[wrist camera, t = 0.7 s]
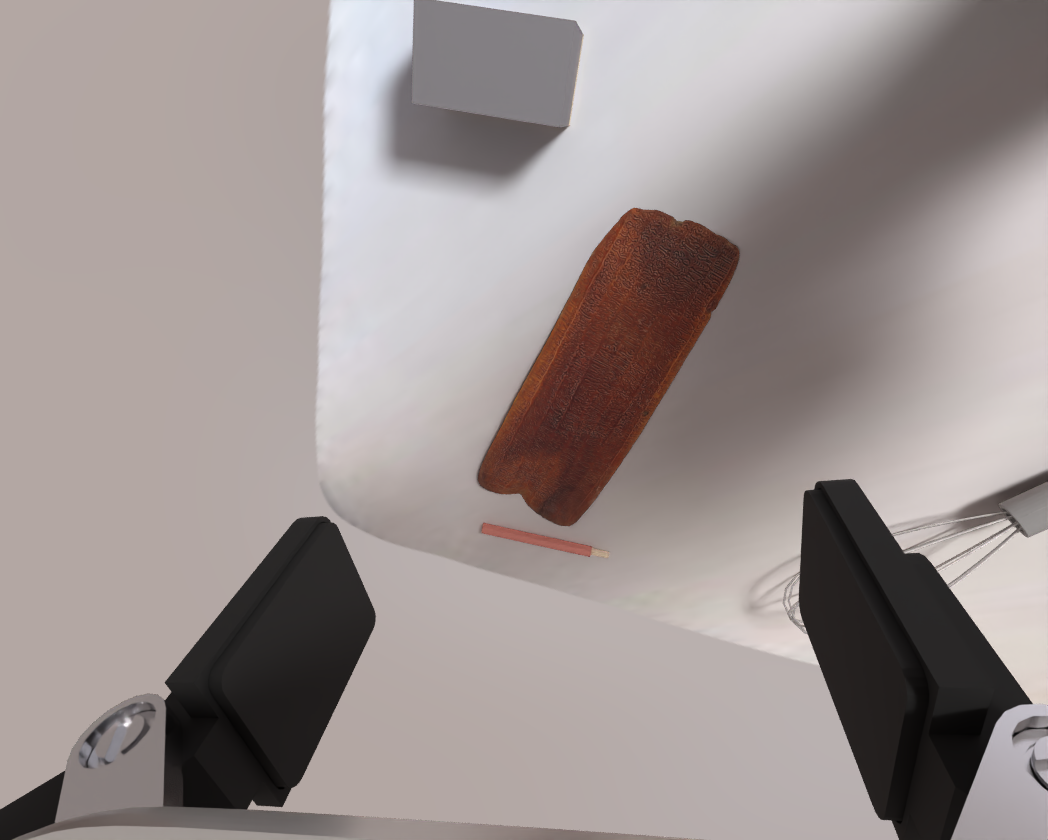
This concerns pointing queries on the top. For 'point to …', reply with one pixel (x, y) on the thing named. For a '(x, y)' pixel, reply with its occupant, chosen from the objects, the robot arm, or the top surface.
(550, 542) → the carpenter pencil
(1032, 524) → the kitchen whisk
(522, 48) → the sanding block
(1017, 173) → the top surface
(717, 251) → the wooden tablet
